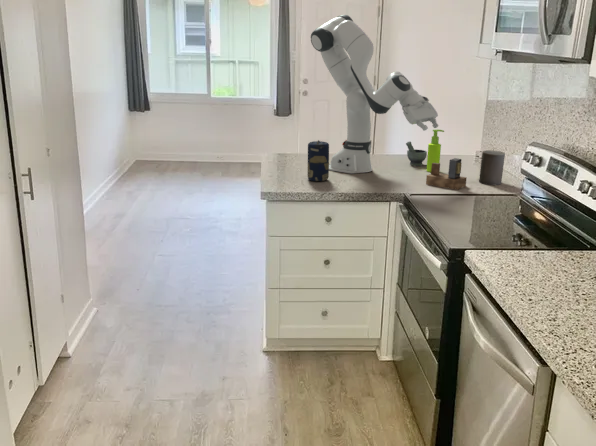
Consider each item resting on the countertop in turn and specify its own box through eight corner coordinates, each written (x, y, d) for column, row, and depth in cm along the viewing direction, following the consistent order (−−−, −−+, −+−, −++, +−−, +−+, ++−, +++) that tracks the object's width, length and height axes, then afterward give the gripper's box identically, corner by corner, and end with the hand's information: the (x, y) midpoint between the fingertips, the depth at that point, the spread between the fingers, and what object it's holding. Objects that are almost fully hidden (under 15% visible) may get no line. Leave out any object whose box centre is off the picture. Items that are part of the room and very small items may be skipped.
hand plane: (426, 184, 261) (427, 164, 259) (434, 181, 267) (436, 161, 264) (457, 189, 252) (459, 169, 249) (465, 186, 258) (467, 166, 255)
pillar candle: (475, 182, 265) (479, 149, 260) (483, 178, 272) (487, 146, 267) (497, 186, 259) (501, 152, 254) (504, 182, 267) (508, 149, 262)
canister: (331, 178, 270) (332, 139, 264) (323, 183, 262) (324, 142, 256) (312, 176, 274) (313, 137, 268) (303, 181, 265) (304, 141, 260)
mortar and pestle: (420, 162, 307) (422, 139, 304) (429, 165, 299) (431, 142, 295) (400, 163, 304) (402, 140, 300) (409, 167, 296) (410, 143, 292)
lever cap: (447, 187, 256) (449, 159, 253) (452, 185, 260) (455, 158, 257) (455, 188, 254) (457, 161, 251) (460, 186, 258) (463, 159, 254)
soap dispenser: (441, 172, 284) (444, 130, 278) (426, 172, 285) (429, 130, 279) (440, 170, 289) (444, 129, 283) (426, 169, 290) (429, 128, 284)
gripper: (405, 100, 251) (424, 126, 248) (429, 97, 266) (447, 121, 263) (395, 110, 255) (414, 135, 252) (419, 106, 270) (437, 130, 267)
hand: (431, 128), depth 258 cm, fingers open, 8 cm apart
